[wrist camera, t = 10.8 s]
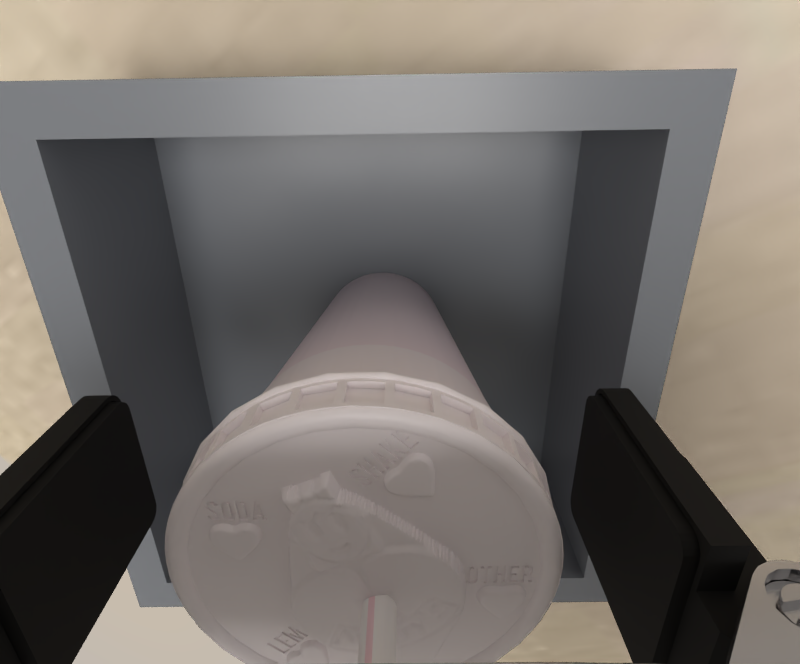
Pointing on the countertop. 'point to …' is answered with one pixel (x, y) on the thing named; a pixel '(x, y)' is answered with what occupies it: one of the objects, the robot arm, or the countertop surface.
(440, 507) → the smoothie
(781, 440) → the countertop surface
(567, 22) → the countertop surface
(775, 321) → the countertop surface
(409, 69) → the countertop surface
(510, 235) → the box
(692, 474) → the robot arm
